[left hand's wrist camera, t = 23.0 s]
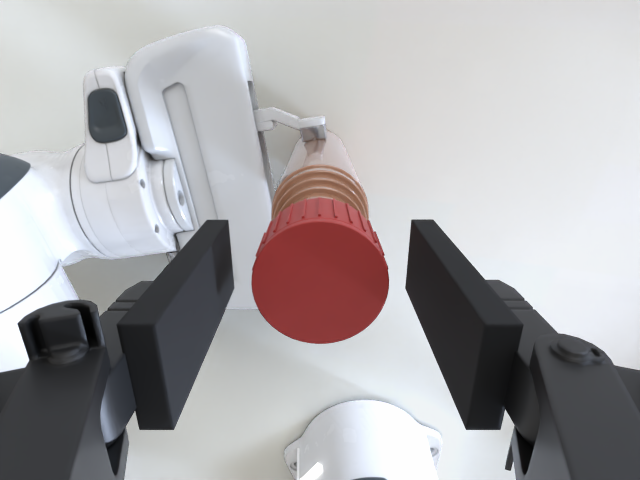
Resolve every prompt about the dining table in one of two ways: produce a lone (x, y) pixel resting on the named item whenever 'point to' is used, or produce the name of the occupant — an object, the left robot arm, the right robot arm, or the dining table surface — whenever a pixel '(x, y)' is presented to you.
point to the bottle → (320, 176)
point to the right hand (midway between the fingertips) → (331, 168)
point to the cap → (320, 272)
